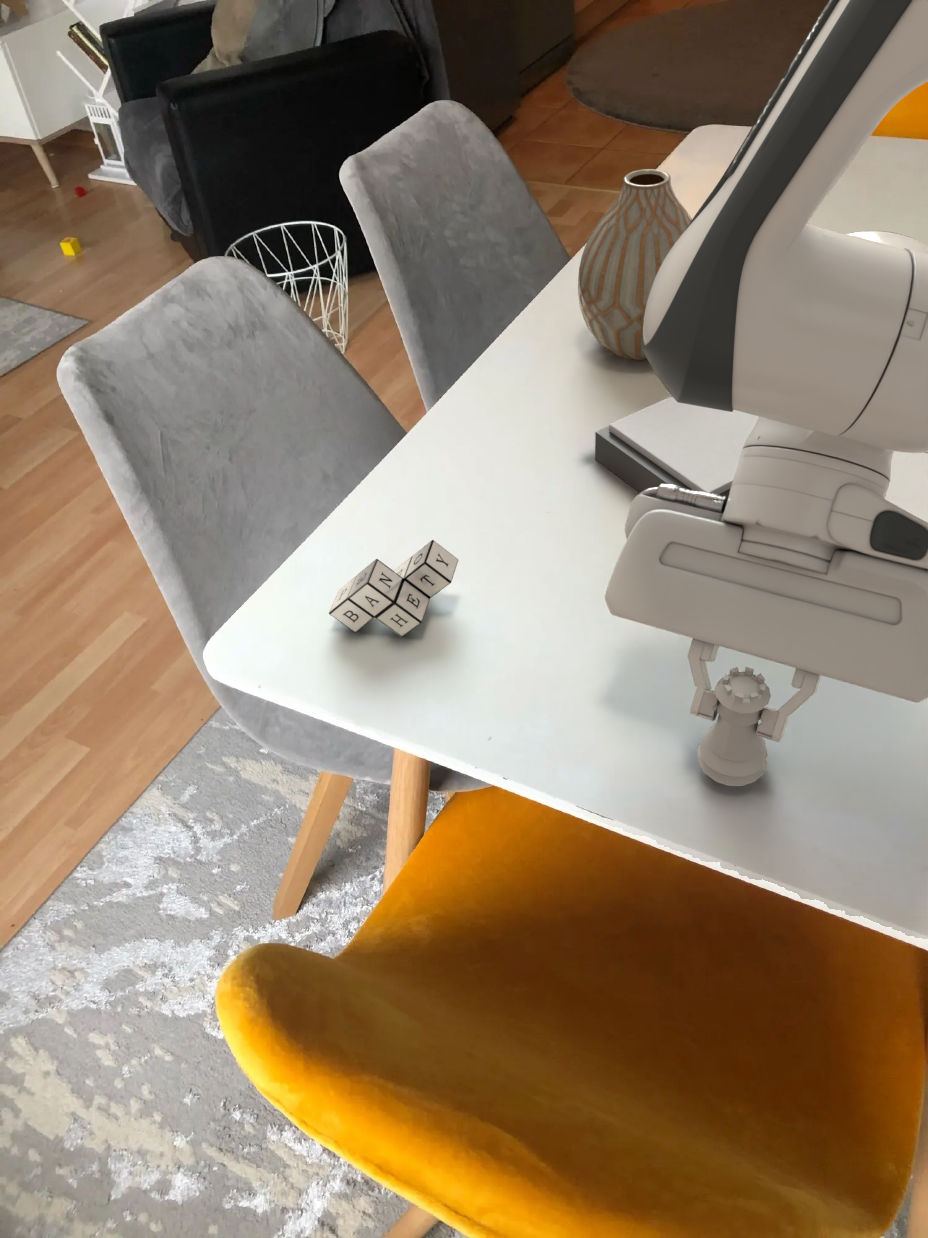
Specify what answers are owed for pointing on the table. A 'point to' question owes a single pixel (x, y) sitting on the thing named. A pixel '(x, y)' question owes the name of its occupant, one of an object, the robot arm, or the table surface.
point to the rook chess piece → (736, 730)
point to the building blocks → (395, 591)
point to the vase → (628, 259)
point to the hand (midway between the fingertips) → (735, 727)
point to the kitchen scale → (675, 446)
